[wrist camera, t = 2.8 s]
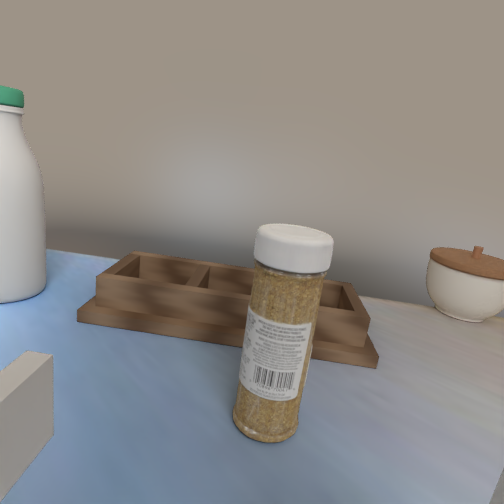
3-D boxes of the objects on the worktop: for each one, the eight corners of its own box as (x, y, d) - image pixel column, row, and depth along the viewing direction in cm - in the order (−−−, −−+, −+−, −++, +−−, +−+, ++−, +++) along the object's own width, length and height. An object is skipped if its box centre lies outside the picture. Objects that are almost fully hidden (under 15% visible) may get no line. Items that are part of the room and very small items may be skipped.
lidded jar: (522, 328, 48) (548, 260, 45) (467, 334, 43) (491, 259, 41) (452, 295, 57) (469, 237, 55) (400, 297, 53) (417, 234, 50)
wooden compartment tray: (350, 312, 45) (358, 280, 44) (376, 368, 33) (386, 327, 32) (127, 278, 46) (129, 246, 45) (77, 321, 34) (77, 279, 33)
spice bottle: (304, 413, 26) (341, 232, 23) (284, 458, 22) (326, 245, 19) (246, 390, 28) (273, 217, 24) (218, 428, 24) (245, 227, 20)
